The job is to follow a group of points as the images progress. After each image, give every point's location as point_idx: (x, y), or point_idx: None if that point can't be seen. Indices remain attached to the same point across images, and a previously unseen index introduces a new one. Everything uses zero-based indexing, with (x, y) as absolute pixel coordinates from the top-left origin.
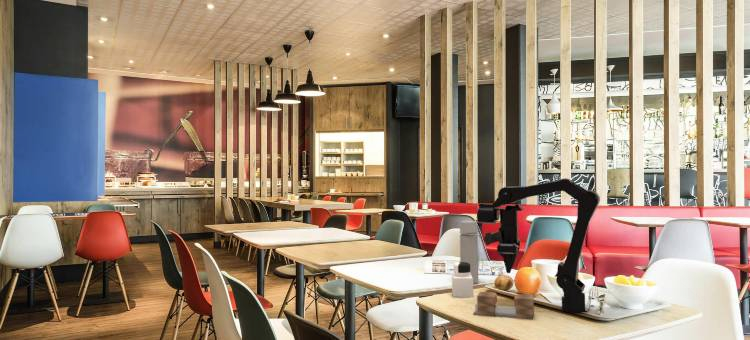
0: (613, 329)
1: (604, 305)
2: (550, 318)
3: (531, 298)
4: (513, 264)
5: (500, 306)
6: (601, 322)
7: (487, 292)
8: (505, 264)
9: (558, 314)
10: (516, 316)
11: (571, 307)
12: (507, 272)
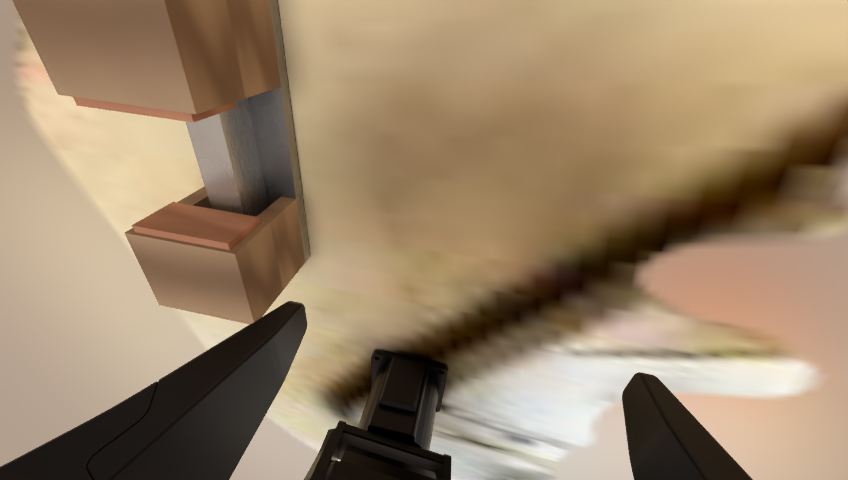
0: (273, 402)
1: (523, 462)
2: (313, 302)
3: (175, 303)
4: (630, 448)
5: (206, 125)
6: (325, 402)
7: (159, 35)
8: (181, 376)
9: (376, 335)
10: (203, 190)
11: (371, 389)
12: (286, 308)
